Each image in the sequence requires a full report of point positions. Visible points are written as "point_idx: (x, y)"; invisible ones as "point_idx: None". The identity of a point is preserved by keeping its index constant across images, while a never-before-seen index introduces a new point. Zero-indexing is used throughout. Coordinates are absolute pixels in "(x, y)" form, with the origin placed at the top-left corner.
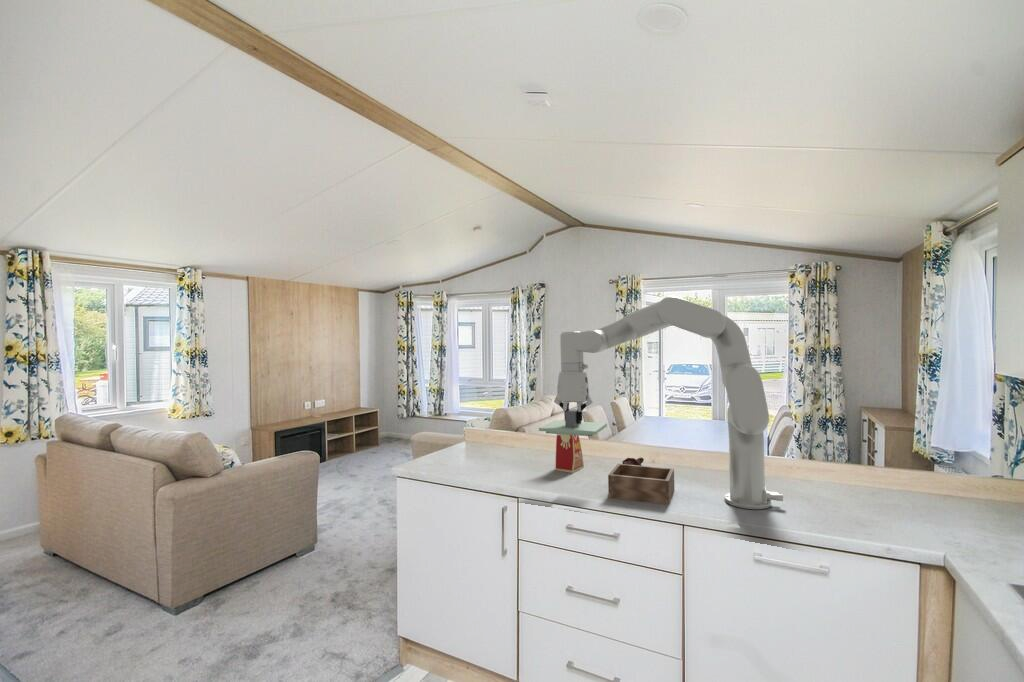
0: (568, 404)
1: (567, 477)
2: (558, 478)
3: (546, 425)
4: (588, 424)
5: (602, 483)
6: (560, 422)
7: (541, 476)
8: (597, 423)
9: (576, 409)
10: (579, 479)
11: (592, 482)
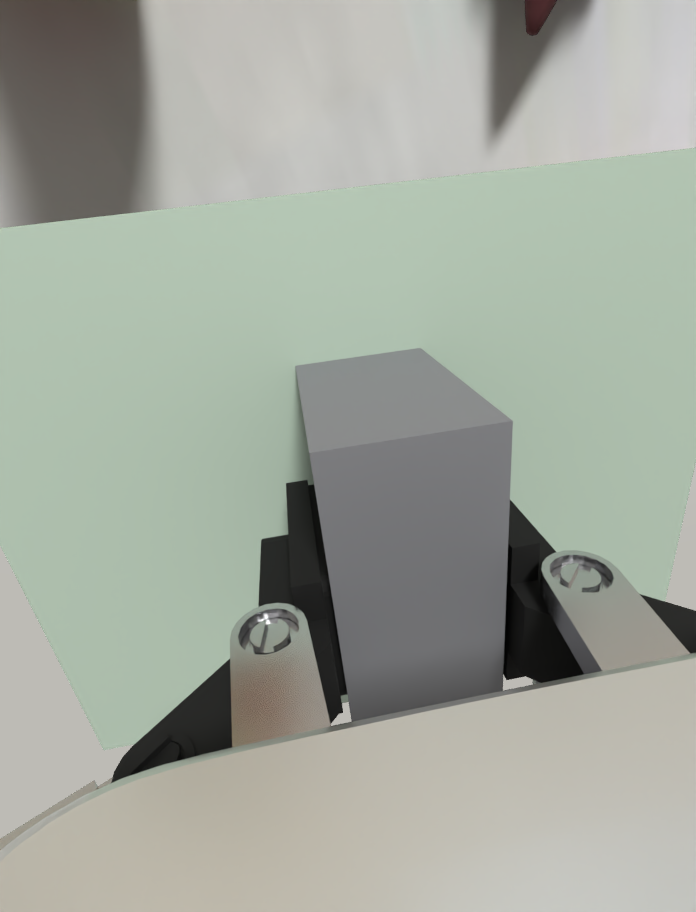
0: (323, 727)
1: (166, 141)
2: (129, 193)
3: (81, 637)
4: (527, 361)
5: (408, 167)
6: (99, 396)
7: (5, 203)
8: (633, 233)
9: (437, 514)
10: (255, 149)
11: (350, 175)
